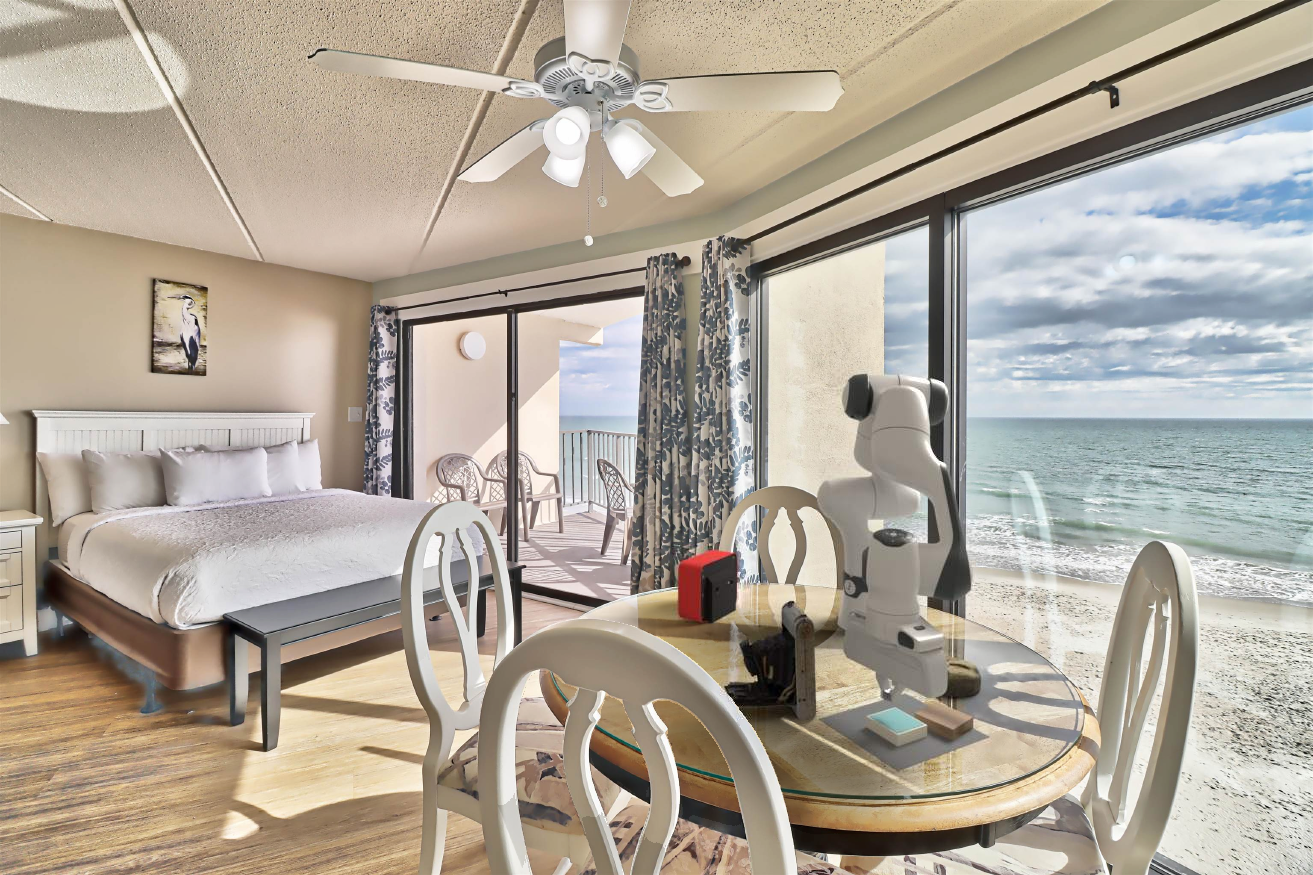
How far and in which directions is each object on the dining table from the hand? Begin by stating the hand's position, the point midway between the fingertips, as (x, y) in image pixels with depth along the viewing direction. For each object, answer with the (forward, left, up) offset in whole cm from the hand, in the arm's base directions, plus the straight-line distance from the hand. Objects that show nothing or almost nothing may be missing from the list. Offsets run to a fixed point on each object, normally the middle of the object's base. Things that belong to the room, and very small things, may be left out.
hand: (890, 701), depth 110 cm
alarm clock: (-5, -67, -6) cm, 67 cm away
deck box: (0, -2, -4) cm, 4 cm away
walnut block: (-9, +4, -5) cm, 11 cm away
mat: (-2, +1, -6) cm, 6 cm away
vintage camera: (+15, -15, -6) cm, 22 cm away
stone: (-24, -8, -6) cm, 26 cm away
